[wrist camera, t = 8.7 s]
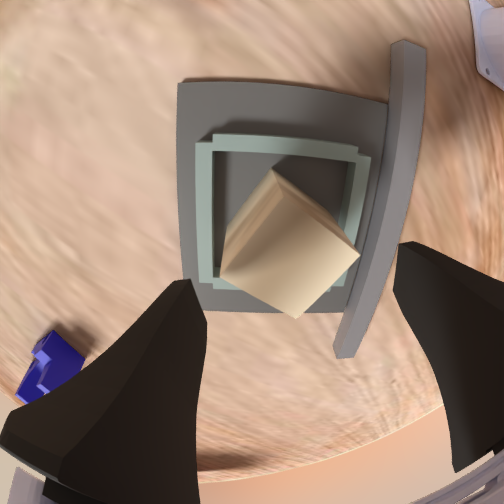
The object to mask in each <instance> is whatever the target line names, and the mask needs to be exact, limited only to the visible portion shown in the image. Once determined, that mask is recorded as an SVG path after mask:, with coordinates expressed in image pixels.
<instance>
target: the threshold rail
mask: <svg viewBox="0 0 504 504" xmlns="http://www.w3.org/2000/svg"><path fill="white" fill-rule="evenodd" d="M425 88H426V49H424V48H422V47H420V46H418V45H415V44H413V43H411V42H408V41H406V40H402V41H399V42H396V43H393V44H391V74H390V91H389V104H388V115H387V125H386V133H385V141H384V148H383V155H382V161H381V168H380V174H379V179H378V185H377V190H376V195H375V200H374V205H373V210H372V214H371V219H370V223H369V227H368V232H367V236H366V240H365V244H364V248H363V251H362V255H361V259H360V263H359V266H358V270H357V273H356V277H355V280H354V283H353V287H352V290H351V293H350V296H349V299H348V303H347V306H346V309H345V312H344V315H343V318H342V320H341V323H340V326H339V329H338V332H337V335H336V337H335V340H334V343H333V348H334V352H335V355H336V358H337V359H342V358H353V357H354V356H355V354H356V352H357V350H358V348H359V345H360V343H361V341H362V339H363V337H364V334H365V332H366V330H367V327H368V325H369V323H370V320H371V318H372V316H373V313H374V311H375V308H376V306H377V303H378V300H379V298H380V295H381V293H382V290H383V287H384V284H385V282H386V279H387V276H388V273H389V270H390V267H391V264H392V261H393V258H394V255H395V251H396V248H397V245H398V241H399V238H400V235H401V231H402V227H403V224H404V220H405V216H406V212H407V208H408V204H409V200H410V195H411V191H412V186H413V181H414V176H415V171H416V165H417V160H418V154H419V147H420V140H421V133H422V124H423V115H424V103H425Z"/></svg>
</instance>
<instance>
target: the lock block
mask: <svg viewBox="0 0 504 504" xmlns="http://www.w3.org/2000/svg"><path fill="white" fill-rule="evenodd" d="M359 256H360V254H359V253H358V251H357V250H356V248H355V247H354V245H353V244H352V243H351V241H350V240H349V238H348V237H347V236H346V234H345V233H344V232H343V230H342V229H341V228H340V226H339V225H338V223H337V222H336V221H335V219H334V218H333V217H332V215H331V214H330V213H329V212H328V210H326V209H325V208H324V207H323V206H321V205H320V204H319V203H318V202H316V201H315V200H314V199H312V198H311V197H310V196H309V195H307V194H306V193H305V192H303V191H302V190H301V189H299V188H298V187H297V186H295V185H294V184H293V183H291V182H290V181H289V180H287V179H286V178H285V177H283V176H282V175H281V174H279V173H278V172H276V171H275V170H274V169H272V168H270V170H269V171H268V172H267V173H266V175H265V176H264V177H263V179H262V180H261V181H260V183H259V184H258V185H257V186H256V188H255V189H254V190H253V192H252V193H251V194H250V196H249V197H248V198H247V200H246V201H245V202H244V204H243V205H242V206H241V208H240V209H239V210H238V212H237V213H236V214H235V216H234V217H233V219H232V220H231V221H230V223H229V224H228V225H227V230H226V236H225V243H224V249H223V256H222V263H221V270H220V278H222V279H224V280H225V281H227V282H229V283H231V284H233V285H234V286H236V287H238V288H240V289H241V290H243V291H245V292H247V293H249V294H250V295H252V296H254V297H256V298H258V299H260V300H261V301H263V302H265V303H267V304H269V305H271V306H272V307H274V308H276V309H278V310H280V311H282V312H284V313H286V314H287V315H289V316H291V317H293V318H295V319H297V318H298V317H299V316H300V315H302V314H303V313H304V312H305V311H306V310H307V309H308V308H309V307H310V306H311V305H312V304H313V303H314V302H315V301H316V300H317V299H318V298H319V297H320V296H321V295H322V294H323V293H324V292H325V291H326V290H327V289H328V288H329V287H330V286H331V285H332V284H333V283H334V282H335V281H336V280H337V279H338V278H339V277H340V276H341V275H342V274H343V273H344V272H345V271H346V270H347V269H348V268H349V267H350V266H351V265H352V264H353V263H354V262H355V260H356V259H357V258H358V257H359Z"/></svg>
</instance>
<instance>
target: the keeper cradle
mask: <svg viewBox="0 0 504 504" xmlns="http://www.w3.org/2000/svg"><path fill="white" fill-rule="evenodd" d="M387 110H388V104H384V103H380V102H377V101H373V100H369V99H365V98H360V97H356V96H351V95H347V94H342V93H337V92H331V91H326V90H320V89H313V88H306V87H299V86H290V85H281V84H269V83H254V82H187V83H178V90H177V127H176V155H177V194H178V215H179V232H180V246H181V258H182V269H183V279H190V278H191V281H192V284H193V286H194V289H195V292H196V295H197V297H198V300H199V303H200V305H201V308H202V310H205V311H225V312H255V313H284V312H282V311H280V310H278V309H276V308H274V307H272V306H271V305H269V304H267V303H265V302H263V301H261V300H260V299H258V298H256V297H254V296H252V295H250V294H249V293H247V292H245V291H243V290H241V289H240V288H238V287H236V286H234V285H233V284H231V283H229V282H227V281H225V280H224V279H222V278H220V270H221V263H222V256H223V249H224V243H225V236H226V230H227V225H228V224H229V223H230V221H231V220H232V219H233V217H234V216H235V214H236V213H237V212H238V210H239V209H240V208H241V206H242V205H243V204H244V202H245V201H246V200H247V198H248V197H249V196H250V194H251V193H252V192H253V190H254V189H255V188H256V186H257V185H258V184H259V183H260V181H261V180H262V179H263V177H264V176H265V175H266V173H267V172H268V171H269V170H270V168H272V169H274V170H275V171H276V172H278V173H279V174H281V175H282V176H283V177H285V178H286V179H287V180H289V181H290V182H291V183H293V184H294V185H295V186H297V187H298V188H299V189H301V190H302V191H303V192H305V193H306V194H307V195H309V196H310V197H311V198H312V199H314V200H315V201H316V202H318V203H319V204H320V205H321V206H323V207H324V208H325V209H326V210H328V212H329V213H330V214H331V215H332V217H333V218H334V219H335V221H336V222H337V223H338V225H339V226H340V228H341V229H342V230H343V232H344V233H345V234H346V236H347V237H348V238H349V240H350V241H351V243H352V244H353V245H354V247H355V248H356V250H357V251H358V253H359V254H360V256H359V257H358V258H357V259H356V260H355V262H354V263H353V264H352V265H351V266H350V267H349V268H348V269H347V270H346V271H345V272H344V273H343V274H342V275H341V276H340V277H339V278H338V279H337V280H336V281H335V282H334V283H333V284H332V285H331V286H330V287H329V288H328V289H327V290H326V291H325V292H324V293H323V294H322V295H321V296H320V297H319V298H318V299H317V300H316V301H315V302H314V303H313V304H312V305H311V306H310V307H309V308H308V309H307V310H306V311H305V312H304V313H338V312H344V311H345V307H346V304H347V301H348V298H349V295H350V292H351V289H352V285H353V282H354V279H355V275H356V272H357V268H358V265H359V261H360V257H361V254H362V250H363V246H364V242H365V238H366V234H367V230H368V225H369V221H370V217H371V212H372V207H373V203H374V198H375V193H376V187H377V182H378V176H379V171H380V165H381V158H382V152H383V145H384V137H385V129H386V120H387Z"/></svg>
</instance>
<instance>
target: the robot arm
mask: <svg viewBox="0 0 504 504" xmlns="http://www.w3.org/2000/svg"><path fill="white" fill-rule="evenodd" d="M469 4H470V9H471V15H472V21H473V29H474V38H475V49H476V67H477V70H478V72H479V73H480V74H481V75H482V76H484V77H485V78H486V79H488V80H489V81H491V82H492V83H493V84H495V85H496V86H498V87H499V88H500V89H502V90H503V91H504V7H500V8H494V7H493V6H492V5H490V4H489V3H488V2H487V1H485V0H469ZM393 292H394V295H395V297H396V300H397V302H398V304H399V307H400V309H401V311H402V313H403V315H404V317H405V319H406V320H407V322H408V324H409V326H410V327H411V329H412V331H413V333H414V334H415V336H416V338H417V340H418V341H419V343H420V345H421V347H422V349H423V350H424V352H425V354H426V356H427V358H428V360H429V362H430V364H431V366H432V369H433V371H434V374H435V377H436V380H437V383H438V386H439V389H440V392H441V395H442V399H443V403H444V406H445V410H446V415H447V420H448V425H449V431H450V438H451V449H452V465H453V468H454V471H455V473H457V472H459V471H461V470H462V469H464V468H465V467H467V466H469V465H471V464H472V463H474V462H475V461H477V460H478V459H480V458H481V457H483V456H484V455H486V454H487V453H489V452H490V451H492V450H493V452H494V455H495V456H494V457H492V458H491V459H489V460H488V461H487V462H485V463H484V464H482V465H481V466H479V467H478V468H476V469H475V470H473V471H472V472H470V473H468V474H467V475H465V476H463V477H461V478H460V479H458V480H456V481H455V482H453V483H451V484H449V485H447V486H445V487H444V488H441V489H440V490H438V491H436V492H434V493H431V494H430V495H427V496H425V497H423V498H421V499H418V500H416V501H414V502H411V503H409V504H455V503H456V502H458V501H459V502H458V503H456V504H504V282H502V281H499V280H497V279H494V278H492V277H490V276H487V275H485V274H483V273H481V272H479V271H477V270H475V269H472V268H470V267H468V266H466V265H464V264H462V263H460V262H458V261H456V260H454V259H452V258H450V257H448V256H446V255H444V254H442V253H440V252H438V251H436V250H434V249H432V248H429V247H427V246H425V245H422V244H420V243H417V242H414V241H411V242H405V243H400V244H399V246H398V255H397V264H396V272H395V279H394V286H393ZM206 345H207V321H206V318H205V316H204V313H203V310H202V308H201V305H200V303H199V300H198V297H197V295H196V292H195V289H194V286H193V284H192V281H191V278H190V279H183V280H177V281H173V282H172V283H171V284H170V285H169V286H168V287H167V288H166V289H165V290H164V291H163V292H162V293H161V294H160V296H159V297H158V298H157V299H156V300H155V301H154V302H153V303H152V304H151V305H150V306H149V308H148V309H147V310H146V311H145V312H144V313H143V314H142V315H141V316H140V317H139V318H138V319H137V321H136V322H135V323H134V324H133V325H132V326H131V327H130V328H129V329H128V330H127V331H126V332H125V333H124V334H123V335H122V336H121V337H120V338H119V339H118V340H117V341H116V342H115V343H114V344H113V345H111V346H110V347H109V348H108V349H107V350H106V351H105V352H104V353H103V354H101V355H100V356H99V357H98V358H97V359H96V360H94V361H93V362H92V363H91V364H89V365H88V366H87V367H85V368H84V369H83V370H81V371H80V372H79V373H77V374H76V375H75V376H73V377H72V378H71V379H69V380H68V381H66V382H65V383H63V384H62V385H60V386H59V387H57V388H55V389H54V390H52V391H50V392H49V393H47V394H45V395H44V396H42V397H40V398H38V399H36V400H34V401H32V402H30V403H28V404H26V405H24V406H22V407H19V408H17V409H15V410H13V411H11V412H10V414H9V415H8V417H7V419H6V422H5V424H4V427H3V429H2V432H1V434H0V447H1V448H2V449H3V450H5V451H6V452H8V453H9V454H10V455H12V456H13V457H15V458H16V459H18V460H19V461H21V462H22V463H24V464H25V465H27V466H29V467H30V468H32V469H33V470H35V471H37V472H39V473H40V474H42V475H44V476H46V480H45V482H43V481H42V480H40V479H38V478H37V477H34V476H33V475H31V474H30V473H28V472H26V471H25V470H23V469H21V468H20V467H16V471H15V474H14V478H13V482H12V486H11V490H10V494H9V499H8V503H7V504H200V497H199V489H198V478H197V463H196V413H197V403H198V397H199V390H200V384H201V378H202V372H203V366H204V360H205V354H206ZM485 484H486V485H485ZM483 485H485V488H484V489H483V490H481V491H479V492H477V493H475V494H473V495H471V496H469V497H467V496H468V495H470V494H471V493H473V492H474V491H476V490H477V489H479V488H480V487H482V486H483ZM465 497H467V498H465ZM463 498H465V499H463ZM462 499H463V500H462ZM460 500H461V501H460Z"/></svg>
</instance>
